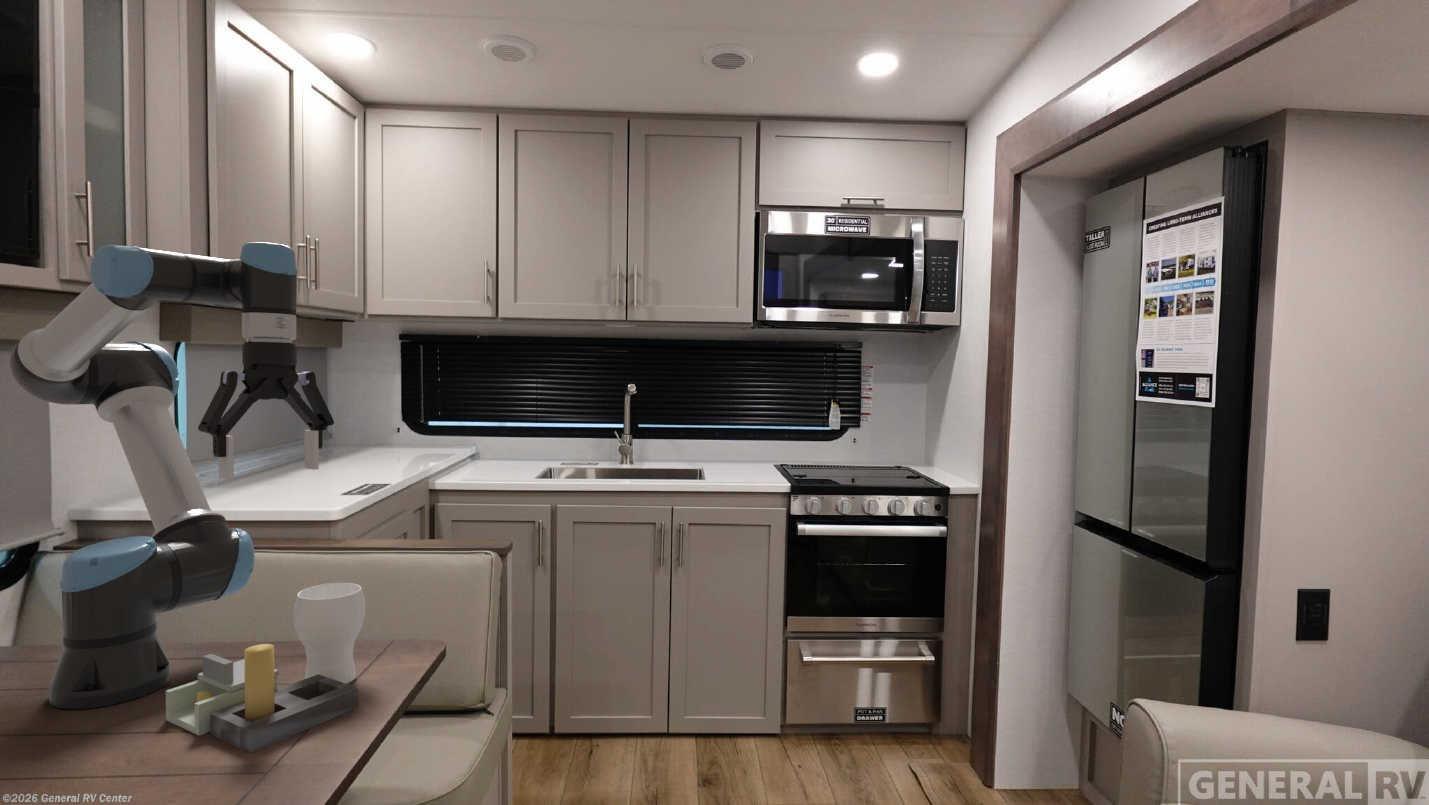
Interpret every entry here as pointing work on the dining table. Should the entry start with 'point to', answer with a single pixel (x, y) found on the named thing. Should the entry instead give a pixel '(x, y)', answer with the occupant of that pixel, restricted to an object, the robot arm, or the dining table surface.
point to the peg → (259, 681)
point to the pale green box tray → (199, 704)
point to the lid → (224, 673)
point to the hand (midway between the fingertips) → (271, 473)
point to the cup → (329, 628)
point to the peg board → (285, 713)
